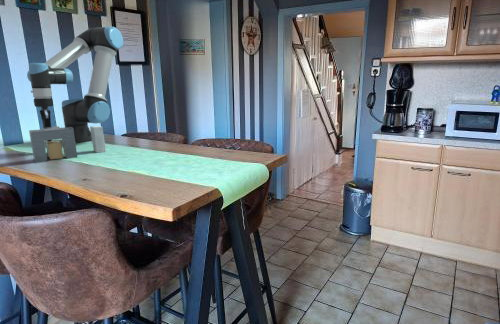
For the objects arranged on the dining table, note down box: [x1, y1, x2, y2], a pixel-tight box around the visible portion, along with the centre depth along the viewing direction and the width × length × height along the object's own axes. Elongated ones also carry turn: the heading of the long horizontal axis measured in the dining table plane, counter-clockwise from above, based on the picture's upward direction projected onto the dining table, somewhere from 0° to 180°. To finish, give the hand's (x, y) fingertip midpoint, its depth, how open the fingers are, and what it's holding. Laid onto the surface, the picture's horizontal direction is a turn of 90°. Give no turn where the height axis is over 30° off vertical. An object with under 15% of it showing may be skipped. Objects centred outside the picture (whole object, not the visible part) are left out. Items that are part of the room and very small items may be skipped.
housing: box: [28, 125, 78, 163], centre depth 146 cm, size 16×6×14 cm, turn 127°
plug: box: [45, 140, 64, 160], centre depth 153 cm, size 5×16×7 cm, turn 36°
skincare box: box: [89, 125, 107, 153], centre depth 161 cm, size 6×4×12 cm
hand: (50, 147), depth 160 cm, fingers closed
